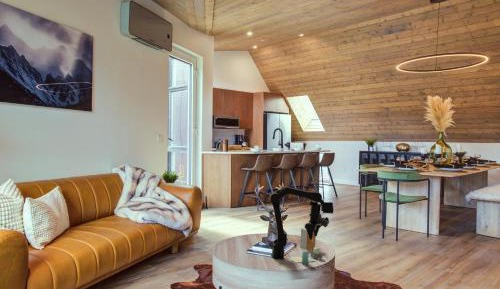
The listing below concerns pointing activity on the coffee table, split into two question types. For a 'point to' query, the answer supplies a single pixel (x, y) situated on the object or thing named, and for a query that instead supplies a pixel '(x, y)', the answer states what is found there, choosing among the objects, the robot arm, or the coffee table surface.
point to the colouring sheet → (300, 259)
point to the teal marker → (305, 257)
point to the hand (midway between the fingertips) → (313, 238)
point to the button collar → (316, 255)
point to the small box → (306, 240)
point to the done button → (316, 251)
